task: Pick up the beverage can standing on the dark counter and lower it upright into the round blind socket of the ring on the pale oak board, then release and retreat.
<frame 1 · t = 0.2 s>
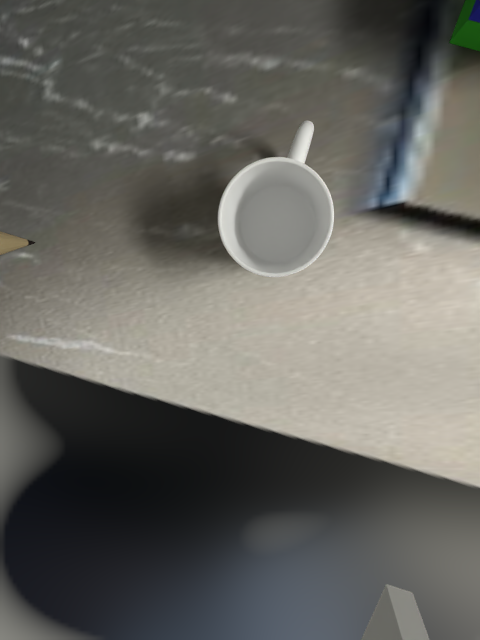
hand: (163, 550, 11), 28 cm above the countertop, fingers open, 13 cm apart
ice cream cone: (35, 241, 39), on the countertop
cup: (283, 206, 35), on the countertop
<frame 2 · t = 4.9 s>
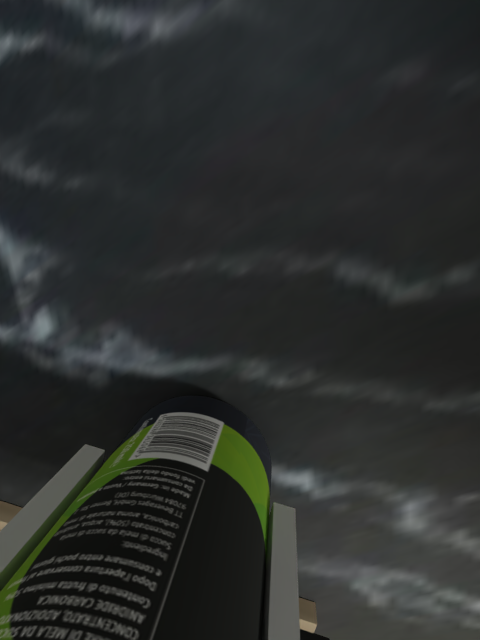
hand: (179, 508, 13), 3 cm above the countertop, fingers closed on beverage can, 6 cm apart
beverage can: (203, 450, 16), on the countertop, touching gripper
when the fingers open (5 cm above the countertop, at t = 12.2 s): beverage can stays where it is, resting on holder.
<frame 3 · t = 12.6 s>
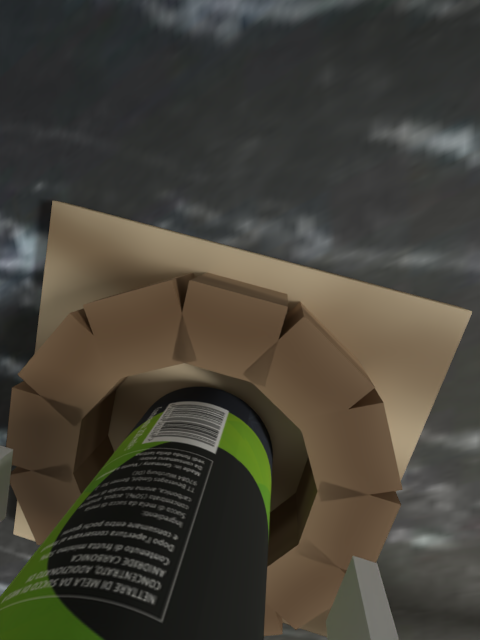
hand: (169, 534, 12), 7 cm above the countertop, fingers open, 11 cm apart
beverage can: (208, 438, 17), point 1 cm above the countertop, touching holder
holder: (210, 429, 18), on the countertop
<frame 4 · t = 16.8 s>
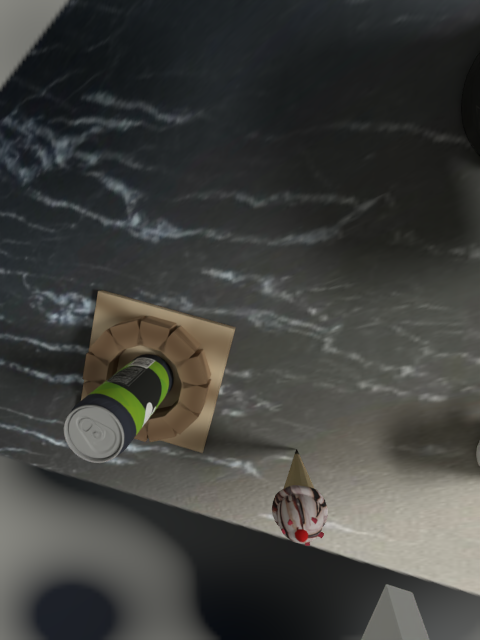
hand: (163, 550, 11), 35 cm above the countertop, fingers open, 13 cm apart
beverage can: (153, 374, 47), point 1 cm above the countertop, touching holder
ice cream cone: (296, 448, 48), on the countertop
holder: (154, 372, 48), on the countertop
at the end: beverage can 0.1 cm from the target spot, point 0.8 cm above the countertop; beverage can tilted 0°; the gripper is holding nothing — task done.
